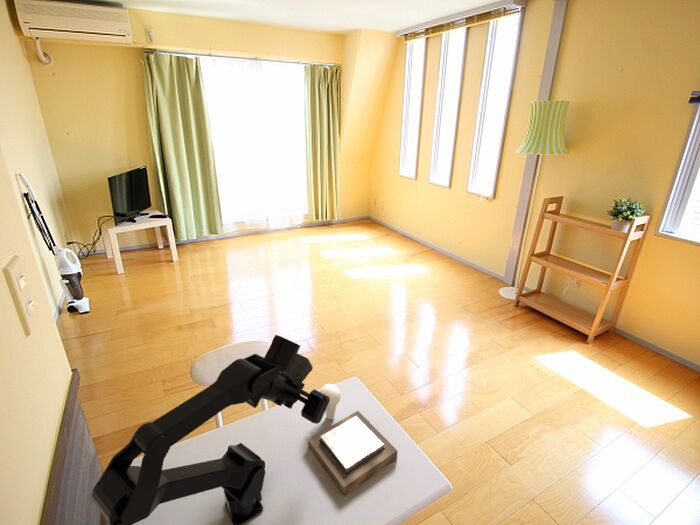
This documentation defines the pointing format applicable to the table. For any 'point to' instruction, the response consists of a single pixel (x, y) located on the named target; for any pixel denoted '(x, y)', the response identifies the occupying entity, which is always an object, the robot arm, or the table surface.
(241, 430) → the table surface
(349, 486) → the brown picture frame
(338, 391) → the lightbulb
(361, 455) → the platform
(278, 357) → the robot arm
